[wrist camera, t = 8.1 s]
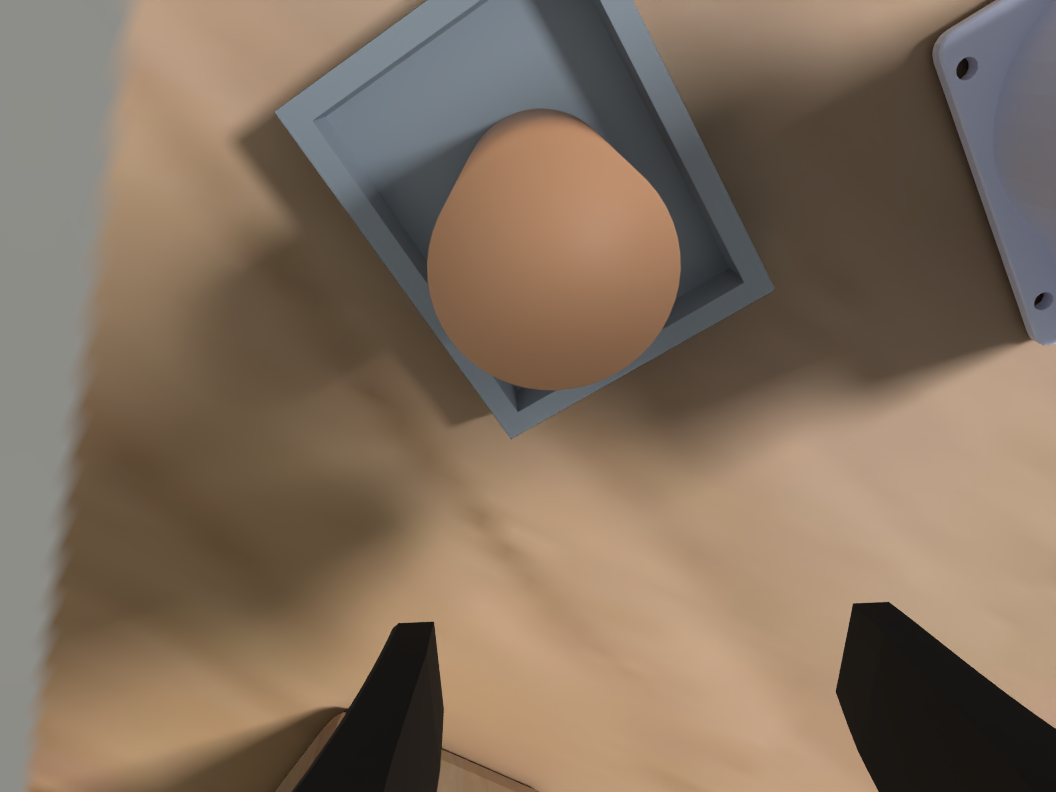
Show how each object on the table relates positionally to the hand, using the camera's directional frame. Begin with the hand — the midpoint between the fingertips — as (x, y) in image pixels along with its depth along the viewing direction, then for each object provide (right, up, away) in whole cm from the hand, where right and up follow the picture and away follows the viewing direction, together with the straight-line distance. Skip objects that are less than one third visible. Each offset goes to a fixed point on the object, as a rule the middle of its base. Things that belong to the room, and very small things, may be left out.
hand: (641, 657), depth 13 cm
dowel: (-2, +10, +6) cm, 12 cm away
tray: (-2, +10, +7) cm, 12 cm away
